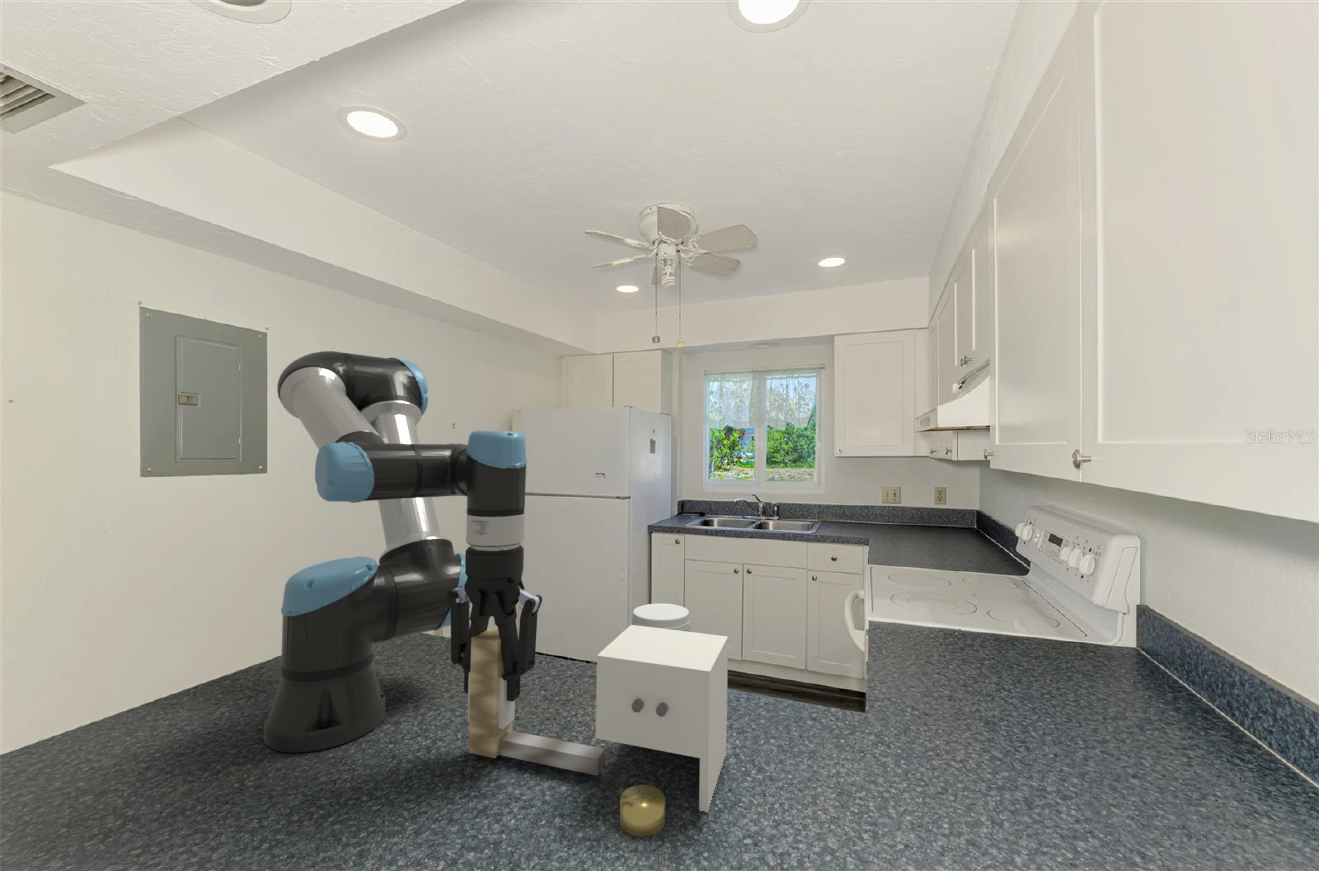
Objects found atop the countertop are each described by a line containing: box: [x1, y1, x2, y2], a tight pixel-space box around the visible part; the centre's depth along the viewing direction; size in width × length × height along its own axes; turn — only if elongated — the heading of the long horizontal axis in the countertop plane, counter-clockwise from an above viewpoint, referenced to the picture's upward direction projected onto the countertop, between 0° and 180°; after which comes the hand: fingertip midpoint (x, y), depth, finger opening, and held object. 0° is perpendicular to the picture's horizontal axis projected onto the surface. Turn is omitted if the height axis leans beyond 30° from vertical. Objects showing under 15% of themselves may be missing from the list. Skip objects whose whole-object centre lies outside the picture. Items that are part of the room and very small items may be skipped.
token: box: [619, 784, 666, 838], centre depth 60 cm, size 5×5×2 cm
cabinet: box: [595, 624, 729, 814], centre depth 69 cm, size 14×13×16 cm
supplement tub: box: [631, 602, 691, 632], centre depth 88 cm, size 10×10×15 cm
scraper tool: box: [468, 627, 606, 776], centre depth 71 cm, size 18×4×15 cm, turn 73°
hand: (491, 719), depth 72 cm, fingers closed on scraper tool, 4 cm apart
